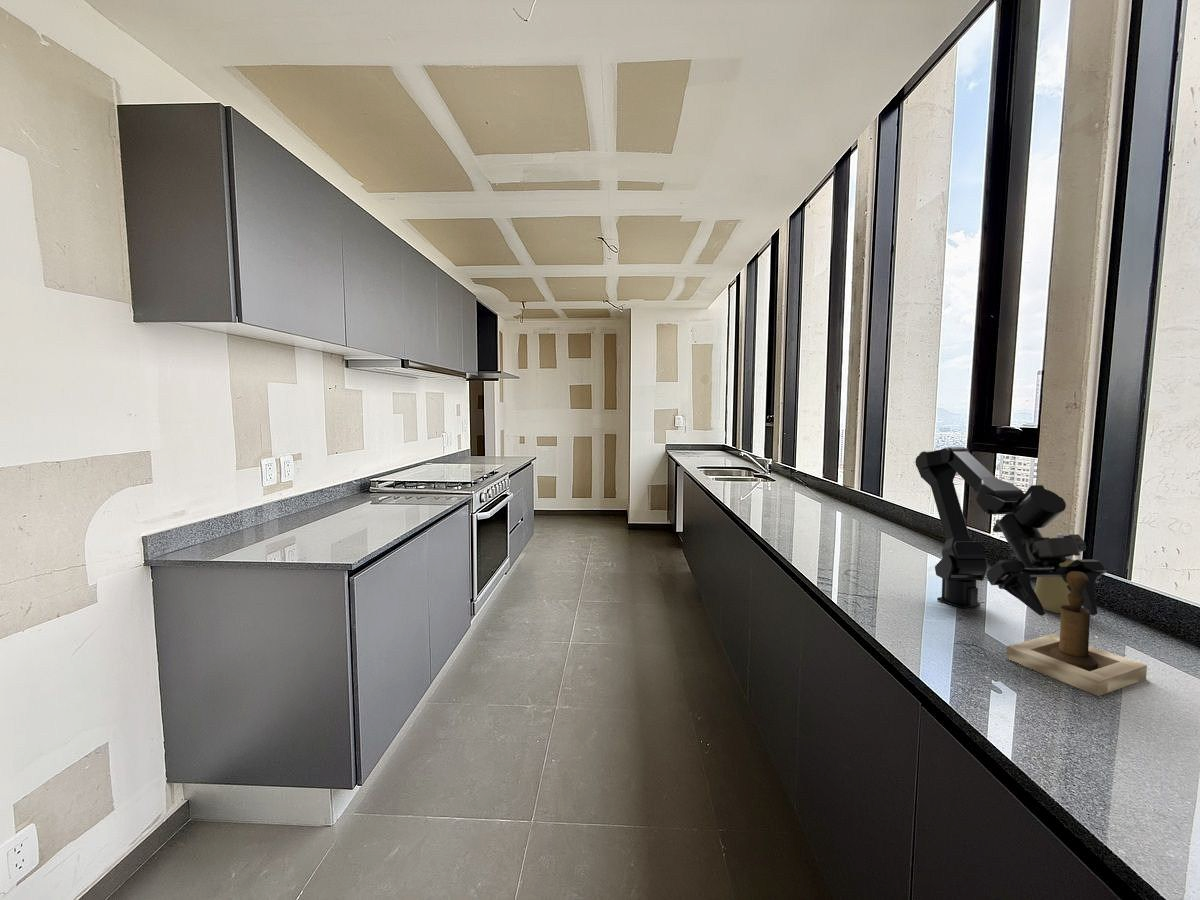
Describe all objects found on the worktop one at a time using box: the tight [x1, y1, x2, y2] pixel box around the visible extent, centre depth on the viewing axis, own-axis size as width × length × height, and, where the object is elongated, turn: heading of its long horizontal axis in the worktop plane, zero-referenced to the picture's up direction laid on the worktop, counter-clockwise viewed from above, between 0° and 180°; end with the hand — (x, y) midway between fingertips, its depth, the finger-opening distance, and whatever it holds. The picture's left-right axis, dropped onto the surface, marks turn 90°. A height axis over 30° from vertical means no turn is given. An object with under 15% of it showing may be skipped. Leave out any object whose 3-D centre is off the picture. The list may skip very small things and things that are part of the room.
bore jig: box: [1005, 633, 1148, 697], centre depth 95 cm, size 14×14×2 cm
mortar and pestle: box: [1049, 571, 1099, 671], centre depth 94 cm, size 7×6×18 cm
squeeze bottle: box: [1034, 533, 1075, 614], centre depth 121 cm, size 8×8×18 cm
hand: (1068, 614), depth 96 cm, fingers open, 9 cm apart
